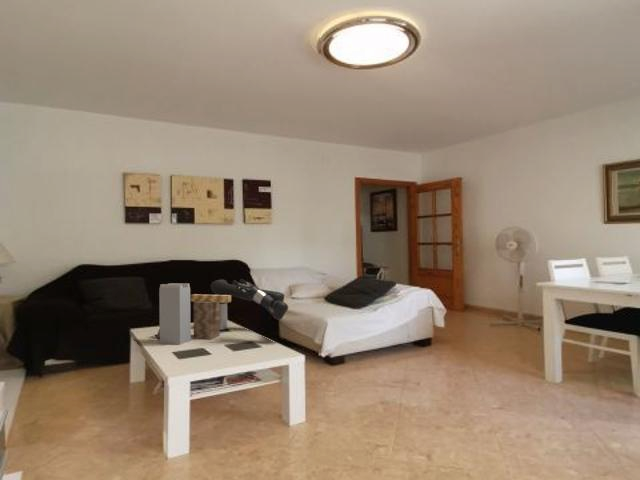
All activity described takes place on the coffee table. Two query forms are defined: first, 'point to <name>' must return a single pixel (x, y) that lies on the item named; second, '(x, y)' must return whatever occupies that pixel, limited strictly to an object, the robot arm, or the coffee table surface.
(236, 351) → the coffee table surface
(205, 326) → the walnut step
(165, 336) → the grey stand
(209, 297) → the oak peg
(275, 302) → the robot arm
